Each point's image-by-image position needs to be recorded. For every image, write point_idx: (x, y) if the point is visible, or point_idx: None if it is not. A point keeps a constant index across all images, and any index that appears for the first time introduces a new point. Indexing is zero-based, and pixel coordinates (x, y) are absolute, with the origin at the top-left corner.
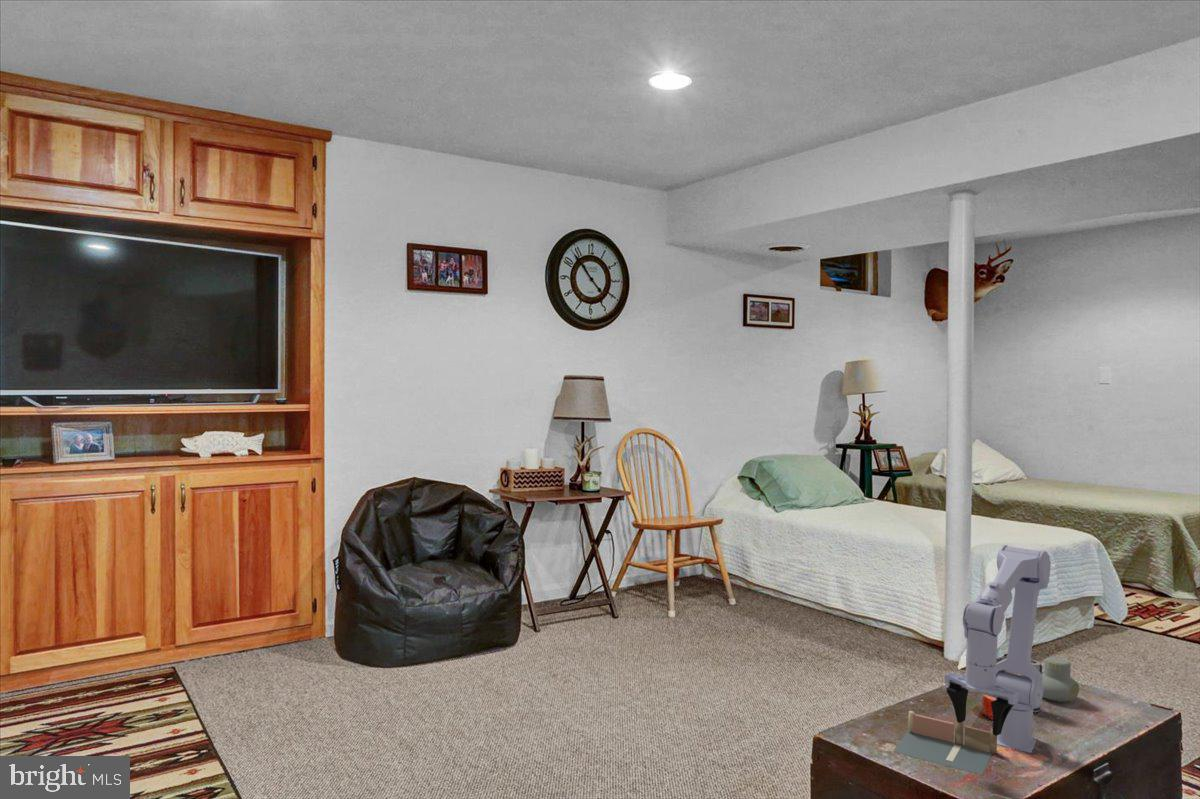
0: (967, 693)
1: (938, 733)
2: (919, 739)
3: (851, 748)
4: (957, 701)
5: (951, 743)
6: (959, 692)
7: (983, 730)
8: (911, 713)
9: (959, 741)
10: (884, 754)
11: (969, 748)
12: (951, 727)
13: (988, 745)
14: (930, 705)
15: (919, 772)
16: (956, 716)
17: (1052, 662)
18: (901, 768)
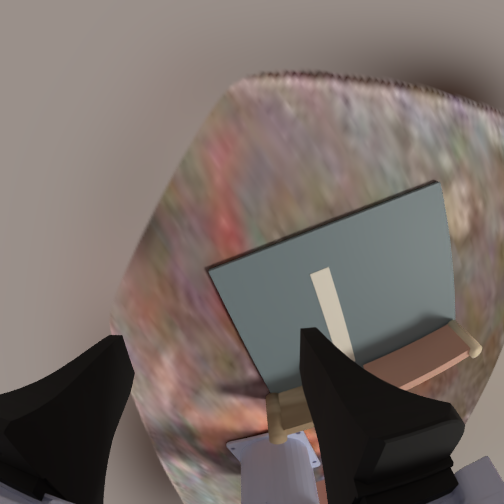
0: (327, 493)
1: (400, 359)
2: (425, 311)
3: (492, 123)
4: (340, 396)
5: (363, 360)
6: (353, 468)
7: (304, 428)
8: (475, 346)
9: None
10: (444, 156)
11: None
12: None
13: (283, 403)
14: None
15: (333, 129)
16: (324, 337)
17: None
18: (376, 110)
